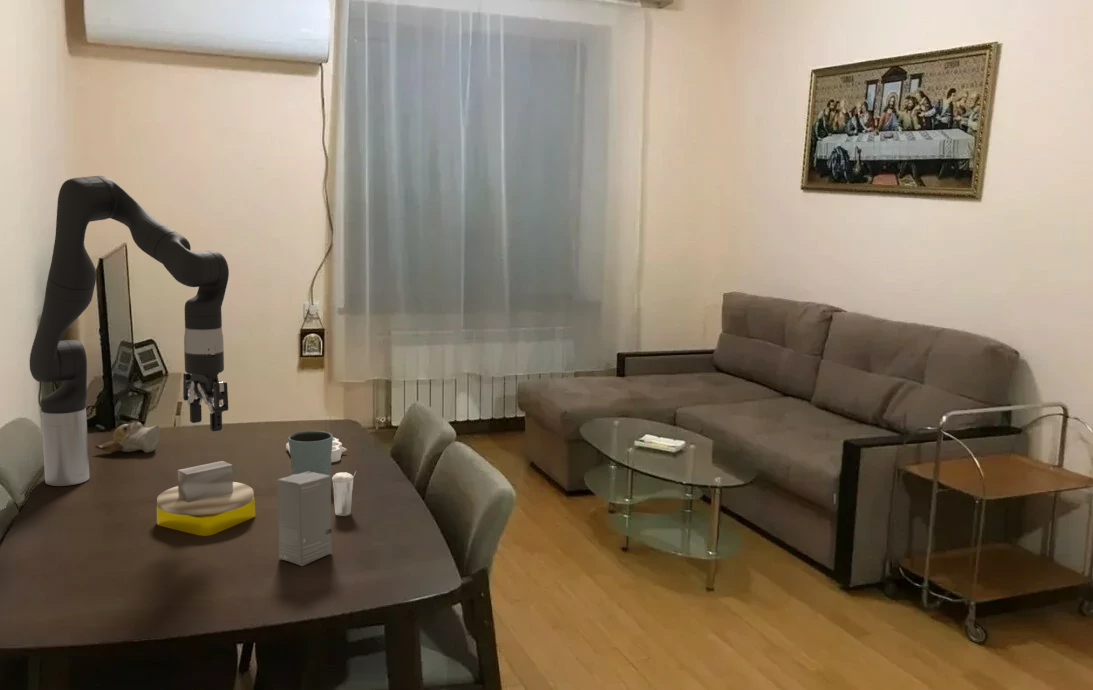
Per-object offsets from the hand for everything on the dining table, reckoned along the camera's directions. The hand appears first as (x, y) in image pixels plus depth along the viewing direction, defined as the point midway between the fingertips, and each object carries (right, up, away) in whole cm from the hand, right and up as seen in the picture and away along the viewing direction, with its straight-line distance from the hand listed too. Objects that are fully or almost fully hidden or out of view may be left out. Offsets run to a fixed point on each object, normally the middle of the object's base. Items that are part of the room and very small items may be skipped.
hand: (206, 426), depth 186 cm
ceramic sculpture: (-39, -11, +51) cm, 65 cm away
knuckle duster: (+9, -13, +54) cm, 56 cm away
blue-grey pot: (+14, -17, +29) cm, 36 cm away
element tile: (-1, -21, +4) cm, 21 cm away
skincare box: (+24, -24, -14) cm, 37 cm away
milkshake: (+27, -20, +10) cm, 35 cm away
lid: (-1, -16, +3) cm, 16 cm away
